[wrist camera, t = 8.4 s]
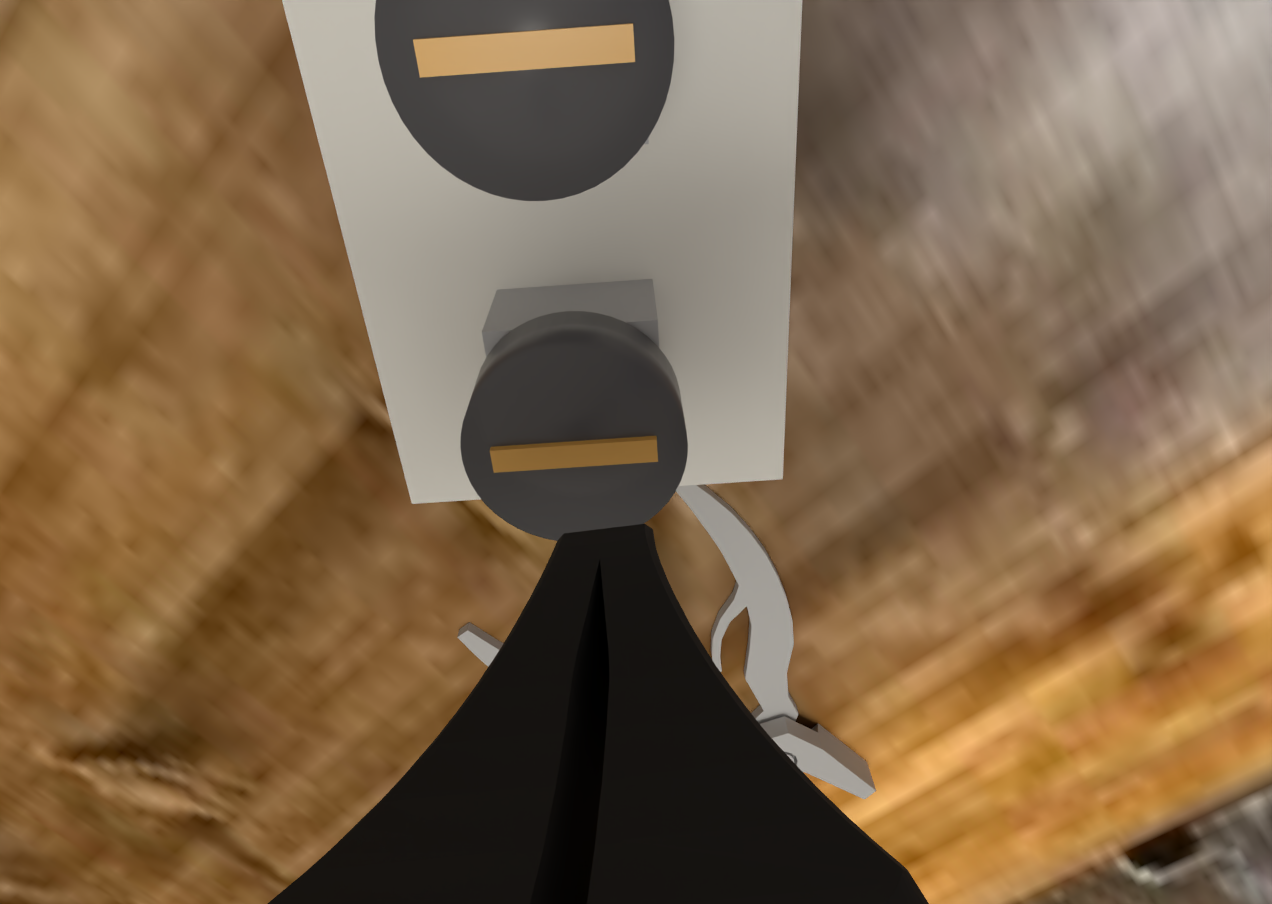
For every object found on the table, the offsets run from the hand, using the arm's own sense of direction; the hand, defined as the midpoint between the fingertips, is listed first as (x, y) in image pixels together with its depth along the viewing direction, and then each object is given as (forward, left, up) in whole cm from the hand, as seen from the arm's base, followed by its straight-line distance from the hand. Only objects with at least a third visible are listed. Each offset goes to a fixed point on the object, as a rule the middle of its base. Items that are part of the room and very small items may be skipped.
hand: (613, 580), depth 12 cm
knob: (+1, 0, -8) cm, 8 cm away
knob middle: (+1, -7, -8) cm, 11 cm away
